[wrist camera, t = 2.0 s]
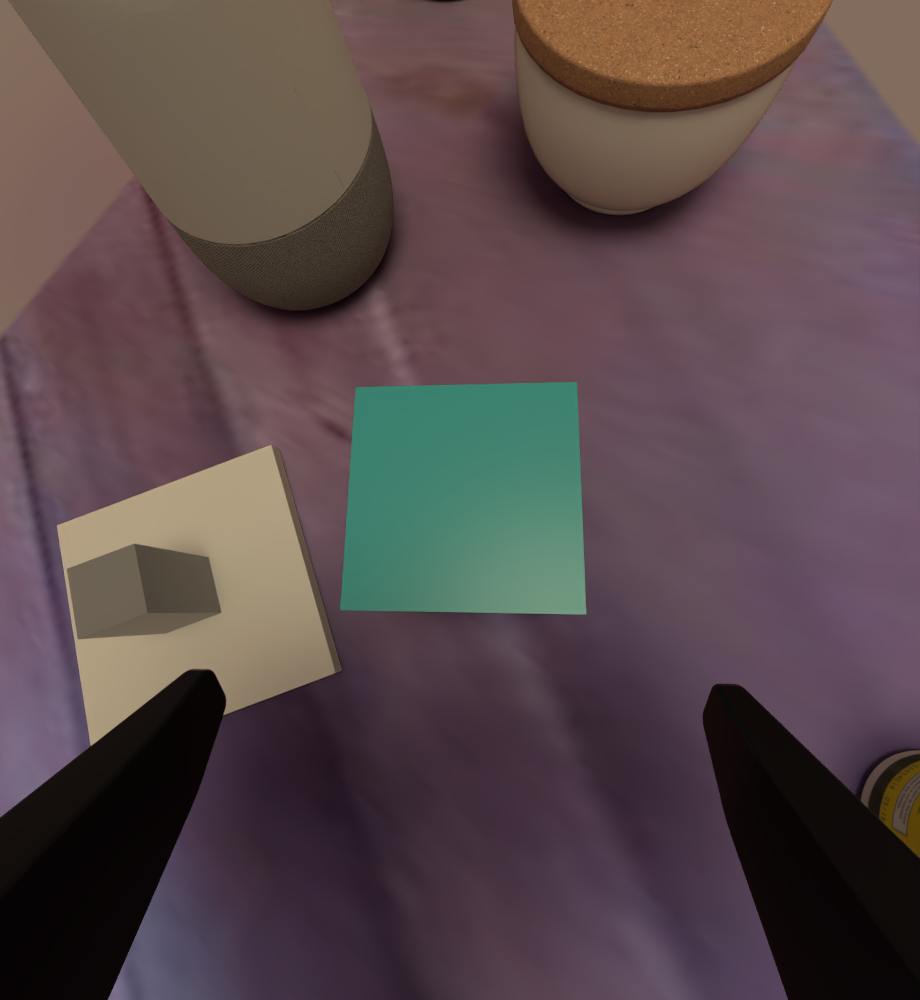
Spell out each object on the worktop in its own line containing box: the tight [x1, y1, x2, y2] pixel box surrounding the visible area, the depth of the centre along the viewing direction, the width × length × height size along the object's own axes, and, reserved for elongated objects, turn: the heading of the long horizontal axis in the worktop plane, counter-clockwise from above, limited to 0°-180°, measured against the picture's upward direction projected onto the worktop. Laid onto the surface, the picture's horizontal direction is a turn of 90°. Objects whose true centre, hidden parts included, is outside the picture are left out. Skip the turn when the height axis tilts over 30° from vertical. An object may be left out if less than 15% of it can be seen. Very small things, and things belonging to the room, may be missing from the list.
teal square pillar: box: [340, 382, 586, 614], centre depth 15 cm, size 5×5×10 cm
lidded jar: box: [512, 0, 833, 215], centre depth 19 cm, size 11×11×9 cm
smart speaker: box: [8, 0, 393, 310], centre depth 17 cm, size 10×9×14 cm
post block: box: [57, 445, 342, 746], centre depth 18 cm, size 10×10×5 cm
